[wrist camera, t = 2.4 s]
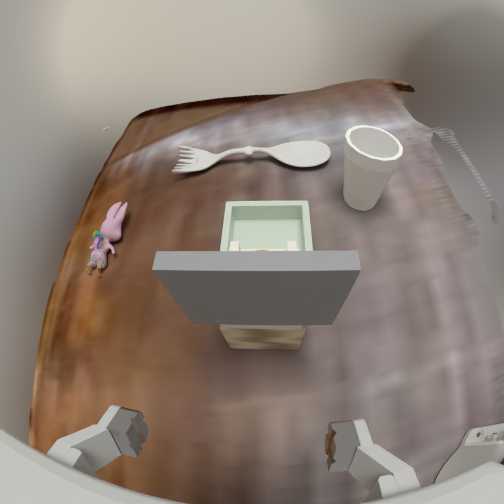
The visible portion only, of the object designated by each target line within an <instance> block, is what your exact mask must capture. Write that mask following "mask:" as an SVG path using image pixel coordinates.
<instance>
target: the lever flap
mask: <svg viewBox="0 0 504 504" xmlns="http://www.w3.org/2000/svg"><path fill="white" fill-rule="evenodd" d="M256 250H268V251H256ZM152 270H153V272H154V273H155V274H156V276H157V277H158V279H159V280H160V281H161V283H162V284H163V285H164V287H165V288H166V289H167V291H168V292H169V293H170V295H171V296H172V297H173V299H174V300H175V301H176V302H177V304H178V305H179V306H180V308H181V309H182V310H183V311H184V313H185V314H186V315H187V317H188V318H189V319H190V320H191V322H192V323H203V324H221V325H222V326H223V328H241V329H301V327H302V325H332V323H333V322H334V320H335V318H336V316H337V314H338V313H339V311H340V309H341V307H342V305H343V303H344V302H345V300H346V298H347V296H348V294H349V292H350V290H351V288H352V286H353V285H354V283H355V281H356V279H357V277H358V275H359V273H360V271H361V268H360V262H359V256H358V251H299V249H297V245H296V241H287V249H241V247H240V242H239V241H230V249H229V250H228V251H157V252H156V256H155V260H154V264H153V268H152Z"/></svg>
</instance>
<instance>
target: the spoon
mask: <svg viewBox="0 0 504 504" xmlns="http://www.w3.org/2000/svg"><path fill="white" fill-rule="evenodd" d="M178 148H179V149H181V150H186V151H179V153H182V154H186V155H179V156H180V157H182V158H187V159H180V160H178V161H179V162H181V163H185V164H176V165H177V166H179V167H175V169H176V170H172V172H173V173H176V174H179V173H187V172H194V171H201V170H204V169H207V168H209V167H210V166H212V165H213V164H215V163H217V162H218V161H220V160H221V159H223V158H225V157H227V156H230V155H234V154H246V155H248V156H249V155H252V154H253V153H265V154H268V155H270V156H272V157H274V158H276V159H277V160H279V161H281V162H283V163H285V164H288V165H291V166H296V167H312V166H316V165H320V164H322V163H324V162H326V161H327V160H328V159H329V158H330V154H331V153H330V149H329V147H328V146H327V145H326V144H324V143H322V142H319V141H312V140H302V141H293V142H287V143H283V144H280V145H277V146H274V147H270V148H256V147H252V146H246V147H244V148H238V149H231V150H228V151H225V152H222V153H220V154H212V153H210V152H208V151H205V150H201V149H195V148H191V147H187V146H179V147H178Z"/></svg>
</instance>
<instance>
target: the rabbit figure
mask: <svg viewBox="0 0 504 504" xmlns="http://www.w3.org/2000/svg"><path fill="white" fill-rule="evenodd" d="M121 203H122V202H119V203H116V204H115V205H113V206H112V207H111V208H110V209H109V211H108V213H107V216H106V220H105V221H104V222H103V224H102V226H101V229H100V232H99V231H95V232H94V233H93V237H95V238H94V245H92V246H91V247H90V249H93V248H94V247H95V249H94V251H93V252H92V253H91V256H90V262H89V264H87V270H86V271H87V272H88V274H89V273H91V272H90V271H89V267H91V266H92V267H97V273H95V274H96V275H98V276H100V277H101V275H99V273H98V270H99V269H104V268H105V267H106V266H107V256H106V254H107V252H108V251H109V249H111V250H112V254H115V251H114V248H113V246H112V245H111V244H110V243H111V242H113V241H118V240H119V239H120V238H121V223H122V221H123V219H124V216H125V211H126V208H127V205H128V203H127V202H126V203H125V204H124V205H123V206H122V207H121V208H120V205H121ZM119 208H120V209H119ZM118 210H119V211H118ZM102 238H103V239H104V240H103V241H102V242H101V240H102ZM109 242H110V243H109ZM98 246H99V248H98ZM91 274H92V273H91Z"/></svg>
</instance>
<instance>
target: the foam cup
mask: <svg viewBox="0 0 504 504" xmlns="http://www.w3.org/2000/svg"><path fill="white" fill-rule="evenodd" d="M343 149H344V187H343V197H344V200H345V202H346V203H347V204H348V205H349V206H350V207H352V208H354V209H356V210H360V211H366V210H371V209H372V208H373V207H374V206H375V204H376V203H377V201H378V199H379V198H380V196H381V194H382V192H383V190H384V189H385V187H386V185H387V183H388V181H389V180H390V178H391V176H392V174H393V172H394V170H395V169H396V167H398V165H399V162H400V159H401V156H402V150H403V147H402V146H401V144H400V142H399V141H398V139H396V138H395V137H394V136H393V135H391V134H390V133H389V132H386V131H384V130H382V129H380V128H377V127H372V126H366V125H364V126H354V127H353V128H351V129H349V130H348V131H347V133H346V136H345V141H344V147H343Z"/></svg>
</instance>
